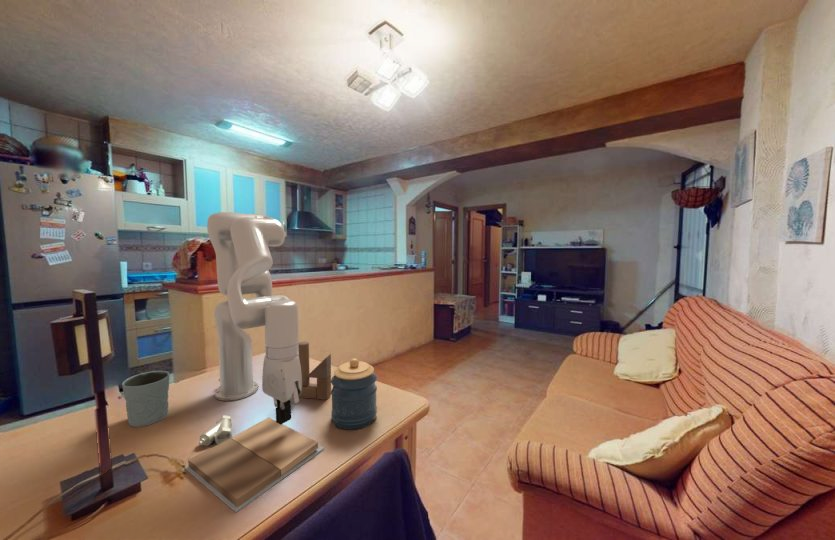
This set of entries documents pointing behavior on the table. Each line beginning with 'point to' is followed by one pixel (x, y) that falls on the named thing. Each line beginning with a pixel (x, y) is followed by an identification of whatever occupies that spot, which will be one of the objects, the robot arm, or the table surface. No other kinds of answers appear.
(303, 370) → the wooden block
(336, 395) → the canister
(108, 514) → the table surface
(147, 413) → the grey pot
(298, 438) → the plank
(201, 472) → the floor board
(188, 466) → the underlay mat
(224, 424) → the pipe fitting
